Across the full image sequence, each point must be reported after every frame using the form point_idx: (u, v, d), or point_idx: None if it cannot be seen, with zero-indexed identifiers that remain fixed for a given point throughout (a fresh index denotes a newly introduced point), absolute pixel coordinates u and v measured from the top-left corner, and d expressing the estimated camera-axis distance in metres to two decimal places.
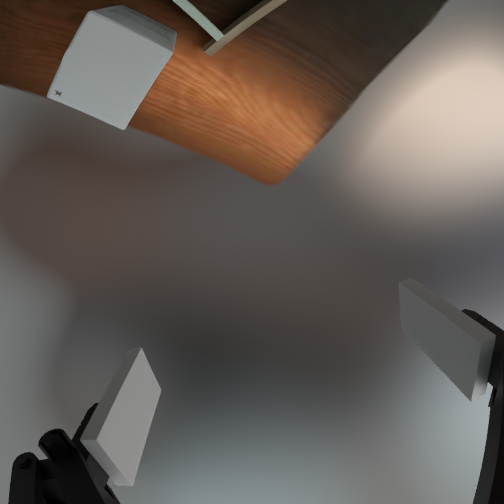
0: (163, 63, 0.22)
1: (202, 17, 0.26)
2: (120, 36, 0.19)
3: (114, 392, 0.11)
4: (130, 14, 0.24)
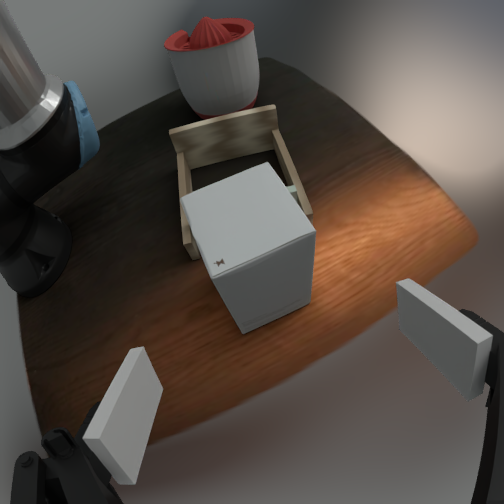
0: (272, 170, 0.27)
1: None
2: (222, 186, 0.27)
3: (116, 391, 0.11)
4: None
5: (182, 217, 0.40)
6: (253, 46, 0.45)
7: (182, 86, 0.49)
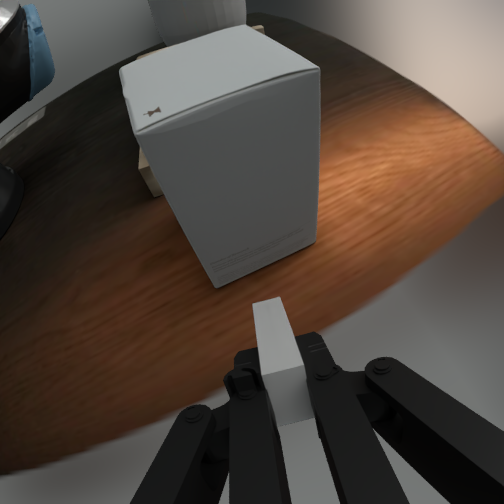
0: (250, 28, 0.16)
1: None
2: (178, 47, 0.16)
3: (268, 333, 0.13)
4: None
5: None
6: None
7: (158, 23, 0.37)
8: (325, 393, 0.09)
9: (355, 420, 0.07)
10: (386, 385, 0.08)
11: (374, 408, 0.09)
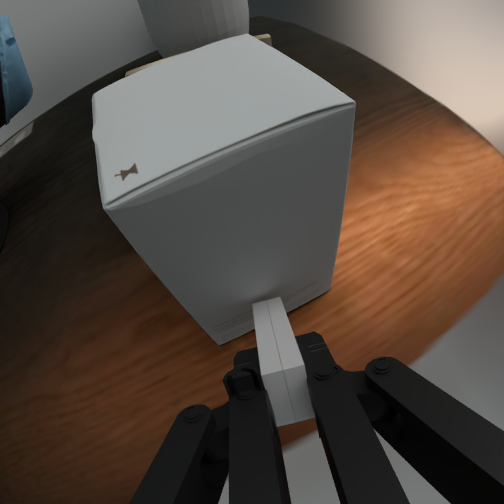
0: (256, 39, 0.13)
1: None
2: (164, 65, 0.13)
3: (268, 333, 0.13)
4: None
5: None
6: None
7: (151, 30, 0.34)
8: (325, 393, 0.09)
9: (355, 420, 0.07)
10: (386, 385, 0.08)
11: (374, 408, 0.09)
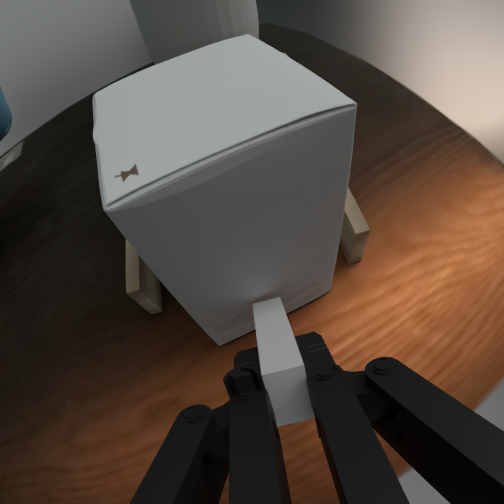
0: (257, 40, 0.13)
1: None
2: (165, 65, 0.13)
3: (268, 334, 0.13)
4: None
5: None
6: None
7: (148, 43, 0.30)
8: (325, 393, 0.09)
9: (355, 420, 0.07)
10: (386, 385, 0.08)
11: (374, 408, 0.09)
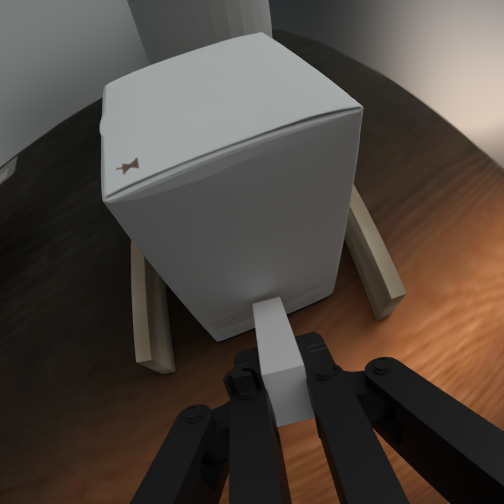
0: (269, 38, 0.13)
1: None
2: (176, 60, 0.13)
3: (268, 333, 0.13)
4: None
5: (134, 298, 0.19)
6: None
7: (150, 54, 0.28)
8: (325, 393, 0.09)
9: (355, 420, 0.07)
10: (386, 385, 0.08)
11: (374, 408, 0.09)
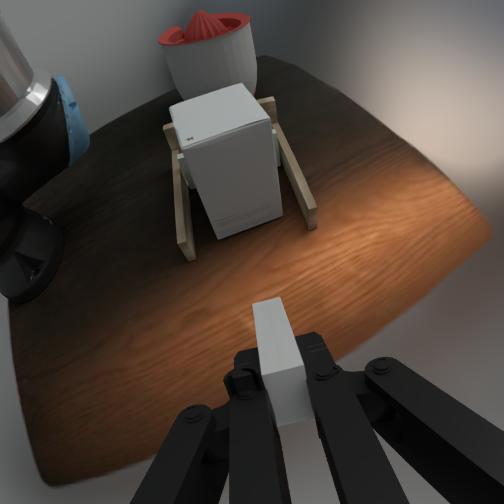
0: (244, 87, 0.31)
1: None
2: (203, 97, 0.31)
3: (268, 333, 0.13)
4: None
5: (176, 215, 0.37)
6: (250, 39, 0.43)
7: (177, 82, 0.47)
8: (325, 393, 0.09)
9: (355, 420, 0.07)
10: (386, 385, 0.08)
11: (374, 408, 0.09)
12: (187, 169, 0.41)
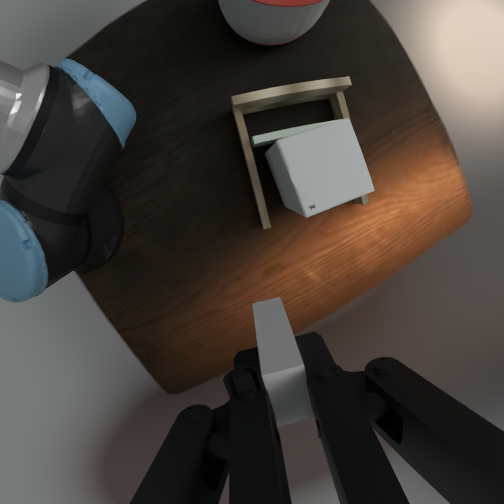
0: (351, 128, 0.31)
1: (325, 123, 0.39)
2: (313, 137, 0.32)
3: (268, 333, 0.13)
4: None
5: (258, 200, 0.44)
6: None
7: (231, 17, 0.33)
8: (325, 393, 0.09)
9: (355, 420, 0.07)
10: (386, 385, 0.08)
11: (374, 408, 0.09)
12: (258, 144, 0.42)
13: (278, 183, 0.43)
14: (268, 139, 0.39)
